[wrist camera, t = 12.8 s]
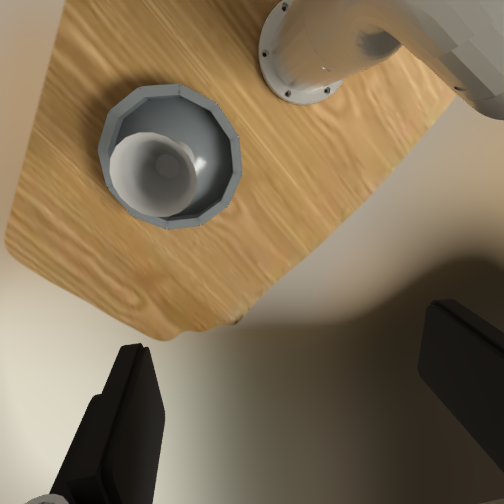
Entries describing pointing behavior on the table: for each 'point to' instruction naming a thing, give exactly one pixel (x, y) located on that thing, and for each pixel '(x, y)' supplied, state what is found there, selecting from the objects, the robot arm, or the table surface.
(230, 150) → the bowl
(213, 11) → the table surface
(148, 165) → the chalice
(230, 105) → the table surface
